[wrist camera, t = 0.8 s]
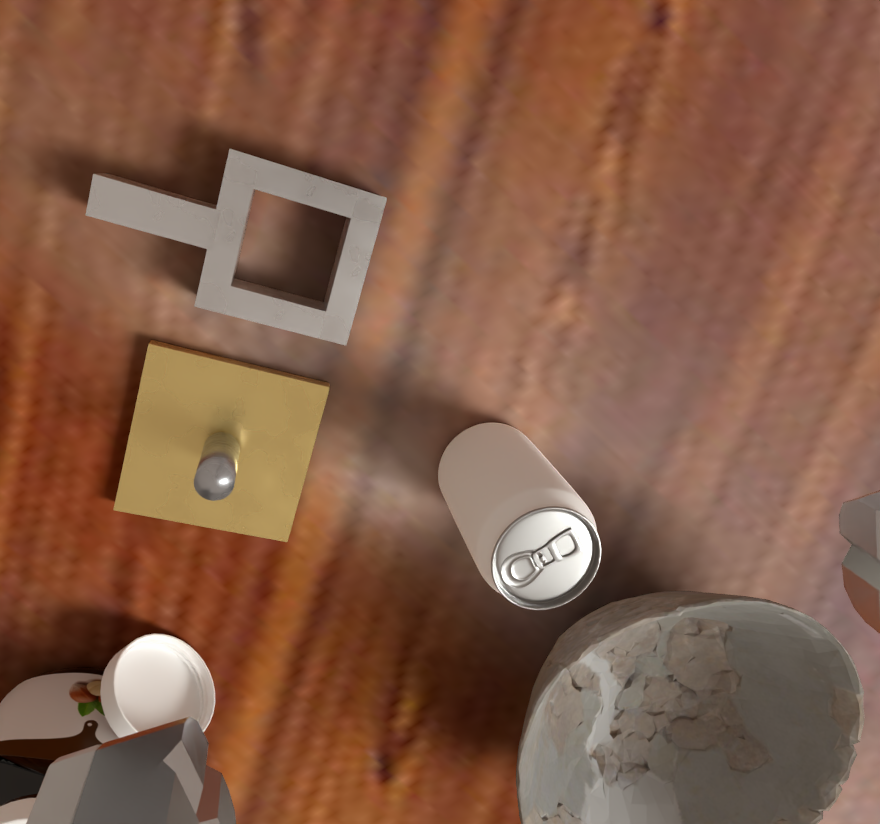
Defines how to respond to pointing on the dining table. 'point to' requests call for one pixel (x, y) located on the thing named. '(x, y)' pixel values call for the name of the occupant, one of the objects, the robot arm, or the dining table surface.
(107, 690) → the spread jar
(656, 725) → the ceramic bowl
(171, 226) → the grey square frame handle
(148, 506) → the post
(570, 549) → the can
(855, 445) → the dining table surface
